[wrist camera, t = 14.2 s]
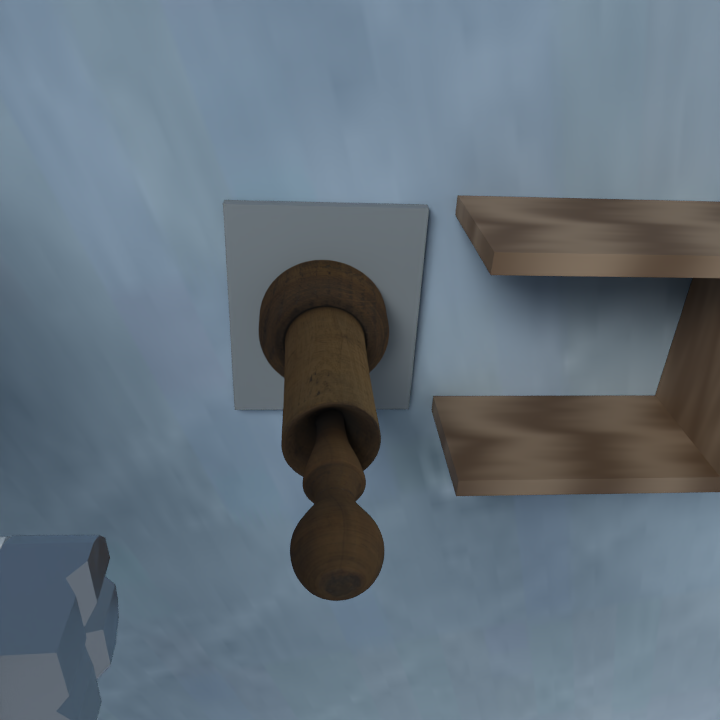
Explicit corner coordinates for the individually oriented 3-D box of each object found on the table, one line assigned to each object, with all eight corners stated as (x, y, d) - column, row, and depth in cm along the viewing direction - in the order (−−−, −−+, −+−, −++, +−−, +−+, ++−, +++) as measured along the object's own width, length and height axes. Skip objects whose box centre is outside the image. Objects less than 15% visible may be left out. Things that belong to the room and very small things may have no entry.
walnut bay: (431, 410, 41) (456, 495, 34) (457, 195, 34) (494, 252, 28) (669, 409, 42) (736, 491, 35) (739, 202, 35) (836, 257, 29)
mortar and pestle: (387, 257, 35) (456, 500, 19) (384, 366, 38) (440, 647, 23) (255, 259, 34) (219, 511, 19) (264, 369, 38) (238, 659, 22)
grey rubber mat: (235, 403, 39) (234, 409, 39) (224, 200, 33) (222, 203, 33) (407, 403, 40) (408, 408, 40) (427, 204, 34) (429, 208, 34)
